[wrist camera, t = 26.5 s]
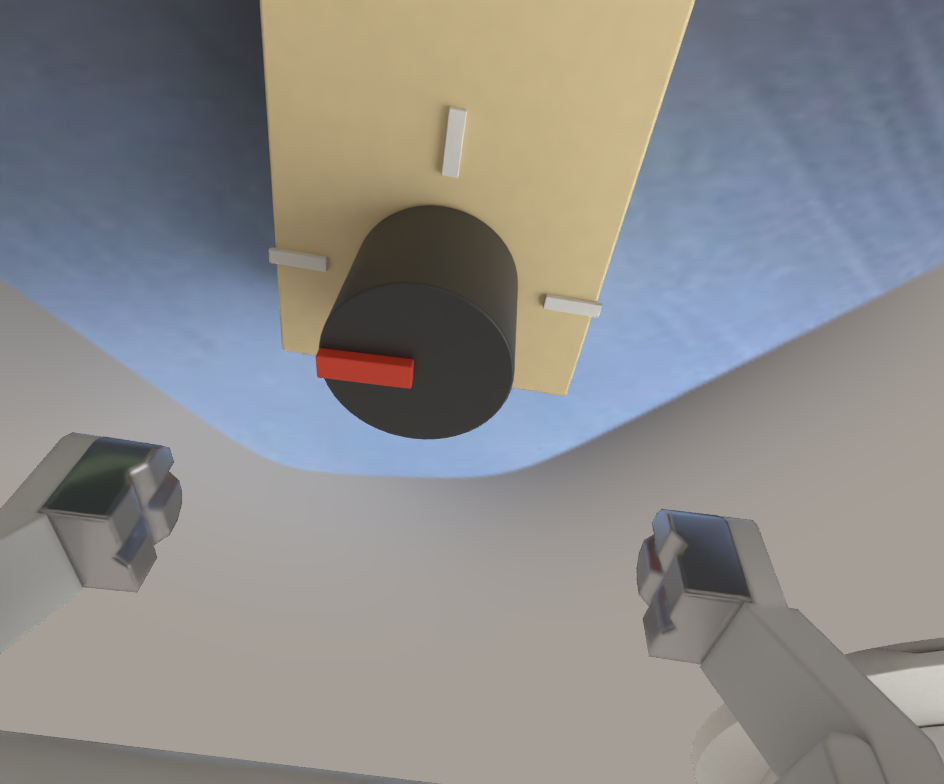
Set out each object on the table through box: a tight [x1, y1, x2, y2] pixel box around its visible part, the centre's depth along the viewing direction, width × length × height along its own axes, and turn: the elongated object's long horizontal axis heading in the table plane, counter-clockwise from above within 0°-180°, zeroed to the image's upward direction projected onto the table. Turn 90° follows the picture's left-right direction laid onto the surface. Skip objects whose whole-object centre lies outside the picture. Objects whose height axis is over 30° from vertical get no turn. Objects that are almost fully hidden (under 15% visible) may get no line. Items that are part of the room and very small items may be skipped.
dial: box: [316, 205, 518, 439], centre depth 14 cm, size 4×4×4 cm
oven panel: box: [260, 0, 695, 396], centre depth 15 cm, size 11×8×3 cm
